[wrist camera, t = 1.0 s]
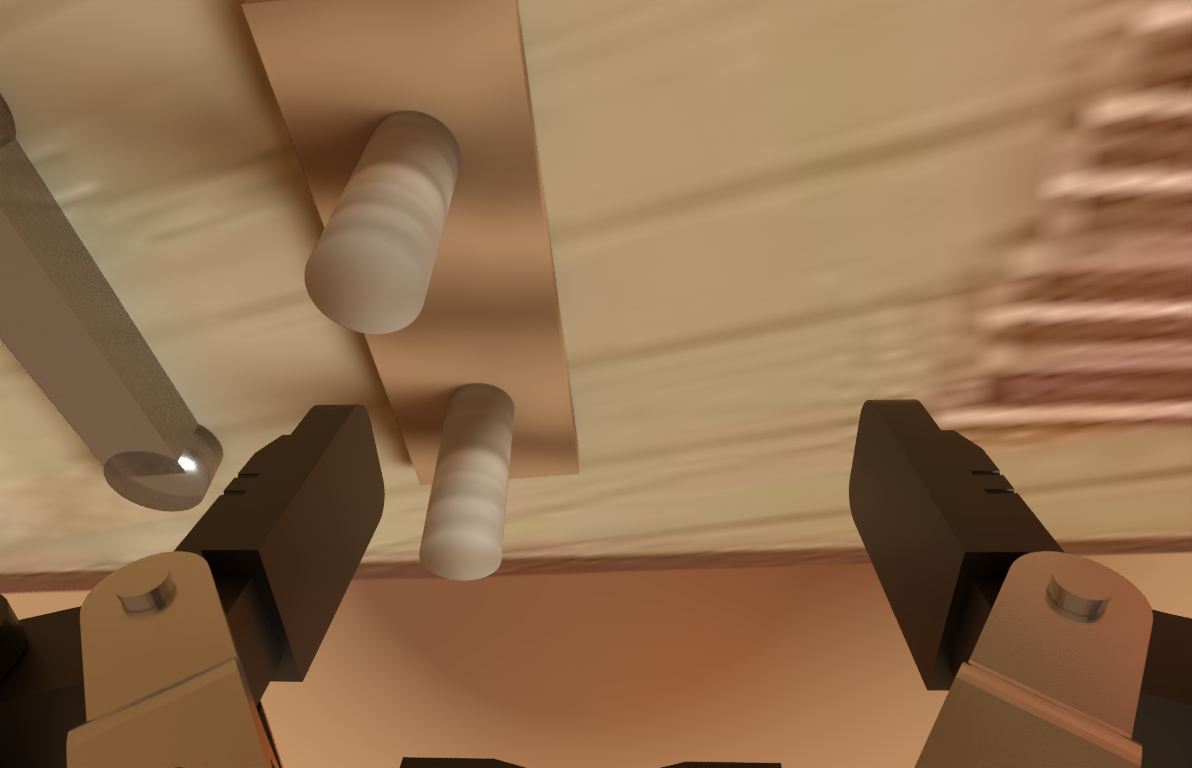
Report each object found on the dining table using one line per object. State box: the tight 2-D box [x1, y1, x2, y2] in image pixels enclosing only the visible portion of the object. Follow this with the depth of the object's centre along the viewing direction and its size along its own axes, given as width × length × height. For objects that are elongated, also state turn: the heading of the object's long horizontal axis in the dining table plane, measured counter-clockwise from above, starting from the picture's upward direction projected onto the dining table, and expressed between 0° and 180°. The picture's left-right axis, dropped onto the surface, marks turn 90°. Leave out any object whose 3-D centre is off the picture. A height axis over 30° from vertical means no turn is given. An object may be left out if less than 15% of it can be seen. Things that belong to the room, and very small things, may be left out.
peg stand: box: [241, 0, 579, 580], centre depth 26 cm, size 22×8×10 cm, turn 5°
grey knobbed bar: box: [0, 94, 223, 511], centre depth 29 cm, size 21×4×2 cm, turn 5°
